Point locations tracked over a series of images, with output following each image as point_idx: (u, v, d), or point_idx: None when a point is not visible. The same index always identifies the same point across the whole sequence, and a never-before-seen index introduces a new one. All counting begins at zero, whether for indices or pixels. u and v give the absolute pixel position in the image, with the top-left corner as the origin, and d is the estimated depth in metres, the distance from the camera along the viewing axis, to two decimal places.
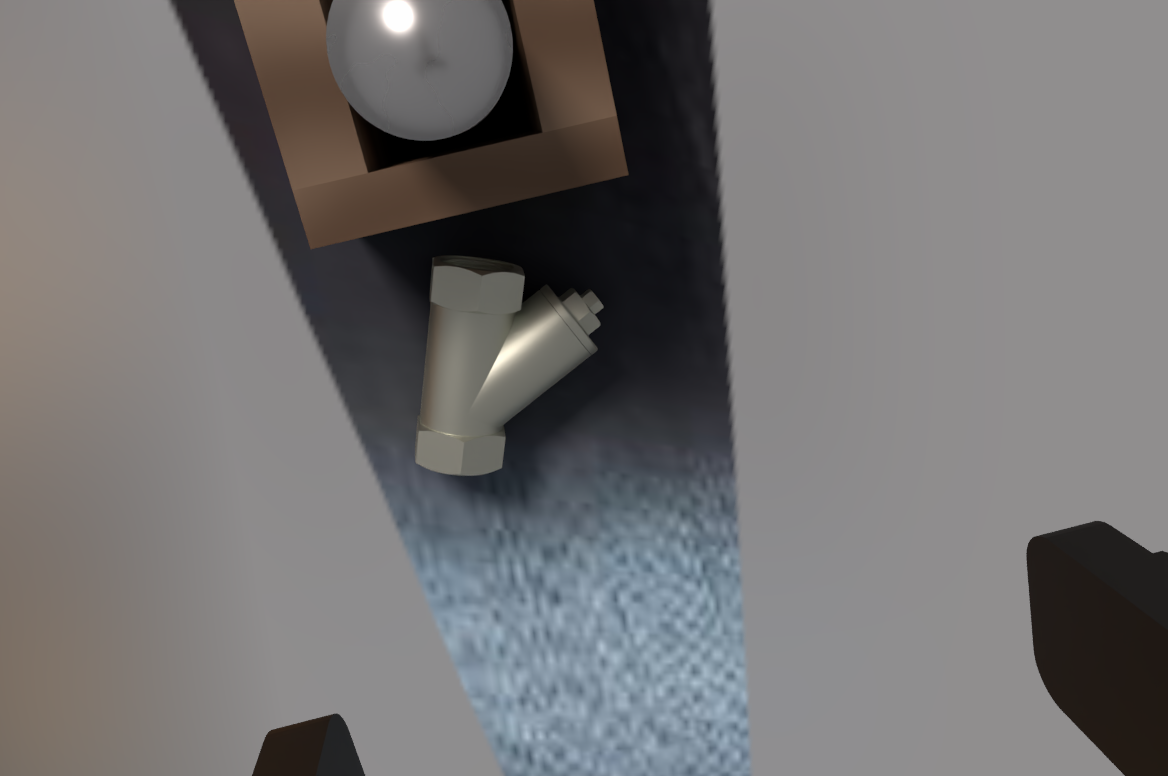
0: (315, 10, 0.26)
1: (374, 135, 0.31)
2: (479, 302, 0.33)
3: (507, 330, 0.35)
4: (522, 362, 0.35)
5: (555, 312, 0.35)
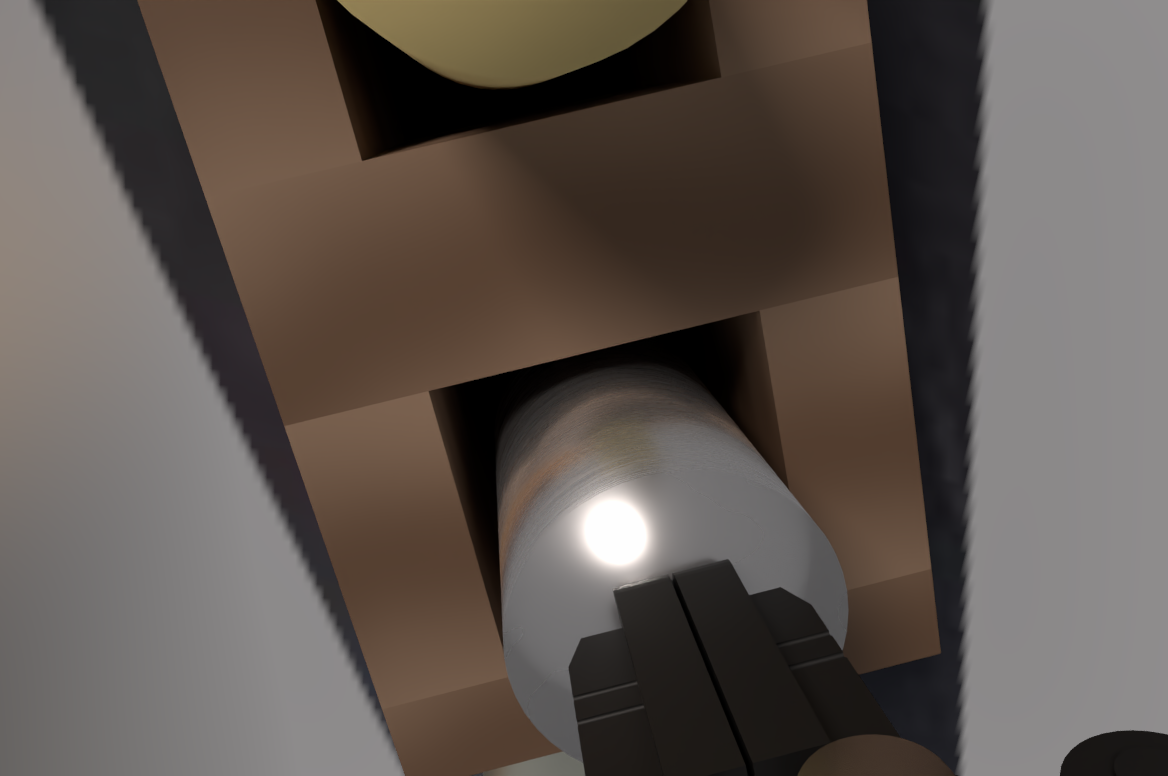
0: (429, 436, 0.15)
1: (492, 517, 0.20)
2: None
3: None
4: None
5: None
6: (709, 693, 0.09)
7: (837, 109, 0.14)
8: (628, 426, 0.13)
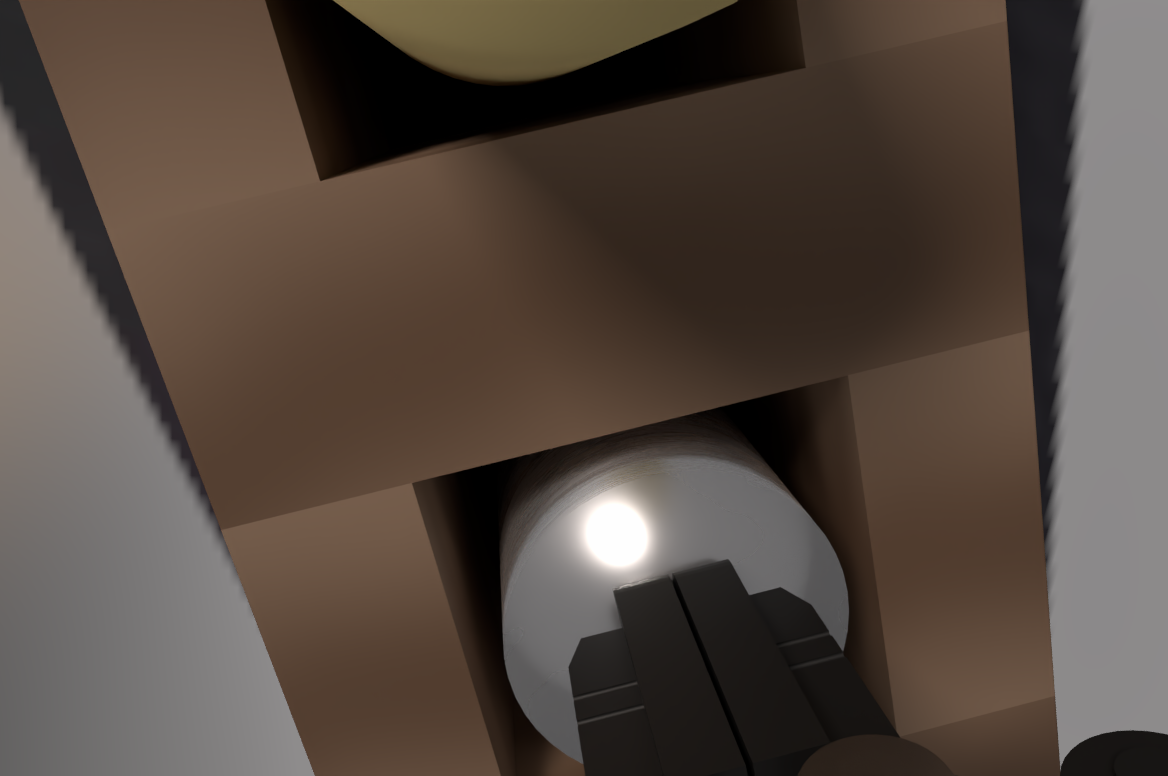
0: (414, 540, 0.11)
1: (495, 607, 0.16)
2: None
3: None
4: None
5: None
6: (709, 693, 0.09)
7: (959, 111, 0.10)
8: None
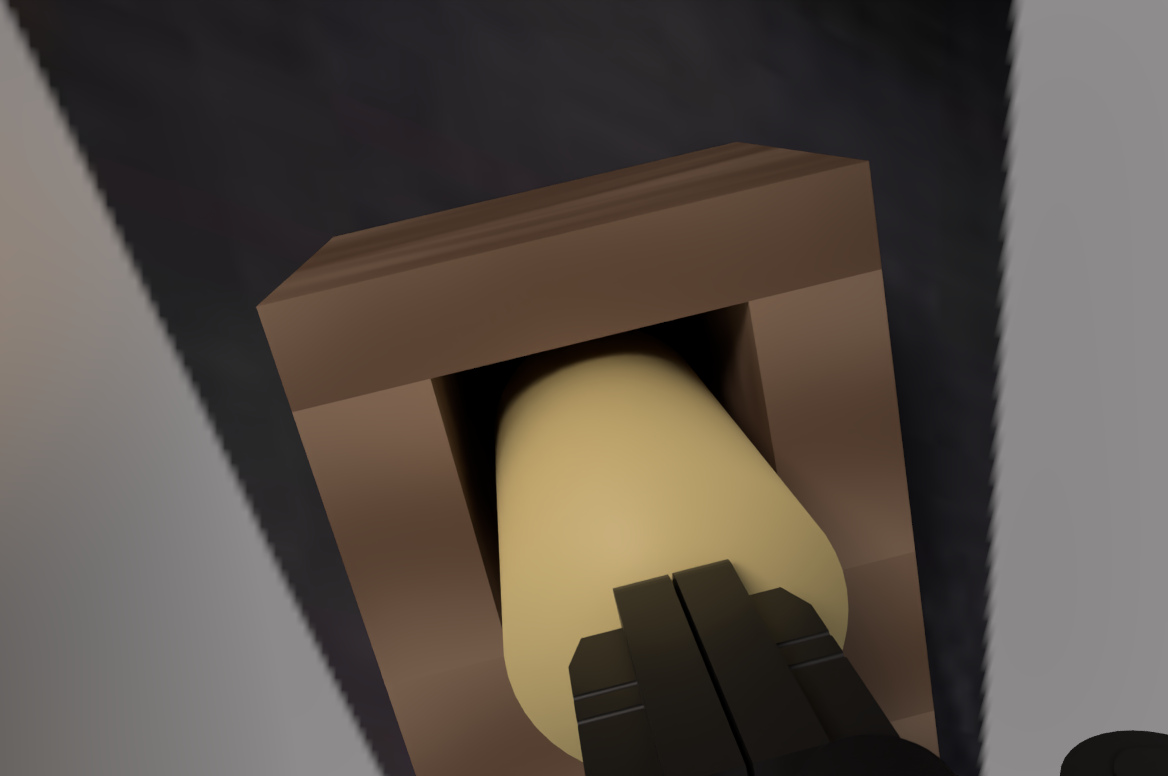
0: None
1: None
2: None
3: None
4: None
5: None
6: (708, 693, 0.09)
7: (887, 598, 0.17)
8: None
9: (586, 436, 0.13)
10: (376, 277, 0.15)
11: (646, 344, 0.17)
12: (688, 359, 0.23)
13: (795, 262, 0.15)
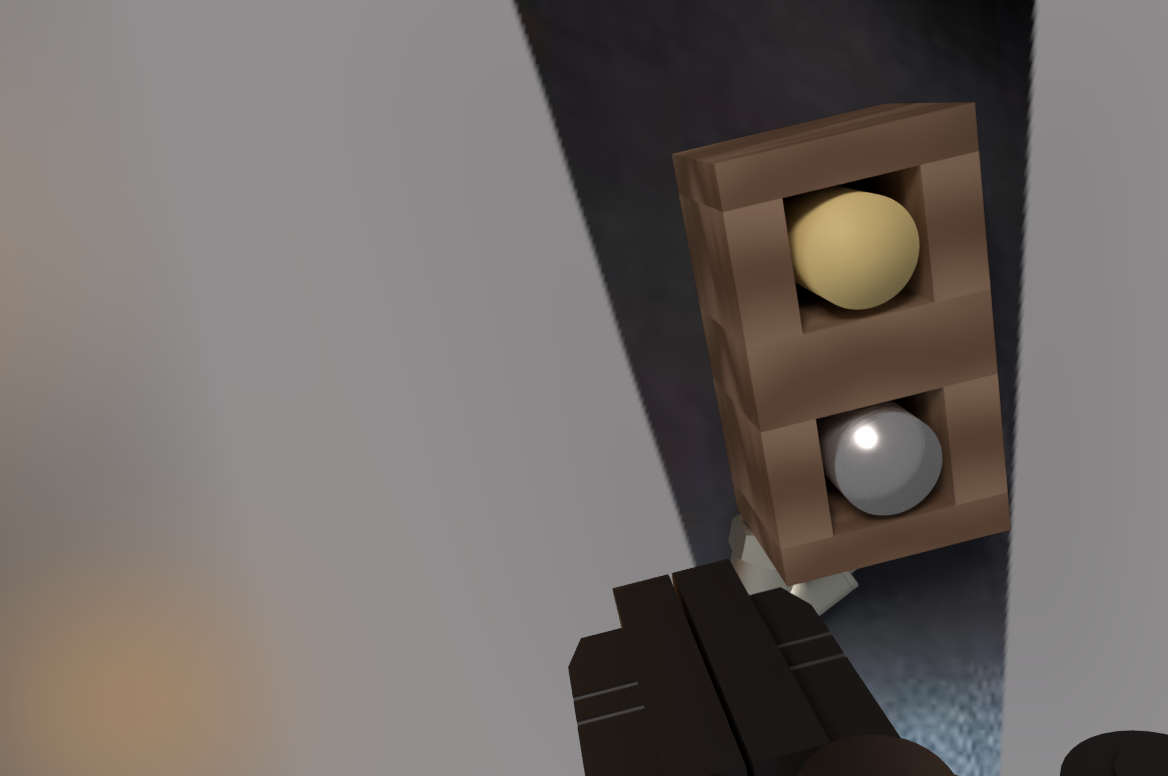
0: (814, 436, 0.37)
1: None
2: None
3: None
4: None
5: None
6: (709, 693, 0.09)
7: (976, 312, 0.37)
8: None
9: (826, 195, 0.36)
10: (764, 151, 0.34)
11: None
12: None
13: (941, 147, 0.34)
